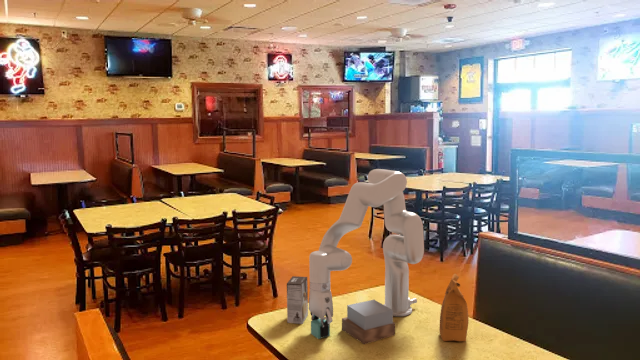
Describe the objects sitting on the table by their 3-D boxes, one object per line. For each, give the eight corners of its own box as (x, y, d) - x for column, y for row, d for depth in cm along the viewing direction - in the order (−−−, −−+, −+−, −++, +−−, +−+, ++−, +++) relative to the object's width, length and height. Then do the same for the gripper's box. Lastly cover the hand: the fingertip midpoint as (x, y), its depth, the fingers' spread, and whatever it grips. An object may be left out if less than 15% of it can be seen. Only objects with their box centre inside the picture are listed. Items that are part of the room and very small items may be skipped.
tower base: (371, 322, 190) (371, 310, 190) (395, 336, 179) (395, 323, 178) (341, 331, 183) (341, 318, 182) (364, 345, 171) (364, 332, 171)
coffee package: (467, 330, 182) (469, 273, 179) (468, 345, 170) (469, 284, 167) (439, 327, 184) (441, 270, 182) (438, 341, 173) (440, 281, 170)
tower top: (373, 312, 188) (374, 299, 188) (392, 323, 178) (392, 310, 177) (347, 318, 183) (347, 305, 182) (364, 330, 172) (365, 316, 172)
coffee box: (292, 313, 198) (292, 275, 197) (308, 315, 197) (307, 276, 195) (286, 323, 190) (286, 283, 188) (303, 324, 188) (302, 284, 186)
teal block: (322, 330, 182) (322, 317, 182) (329, 335, 178) (329, 322, 178) (311, 333, 180) (310, 320, 179) (318, 339, 176) (318, 325, 175)
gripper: (341, 290, 171) (341, 339, 174) (316, 277, 186) (316, 323, 188) (323, 294, 168) (324, 344, 170) (299, 280, 182) (299, 327, 184)
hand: (320, 332), depth 179 cm, fingers closed on teal block, 5 cm apart
